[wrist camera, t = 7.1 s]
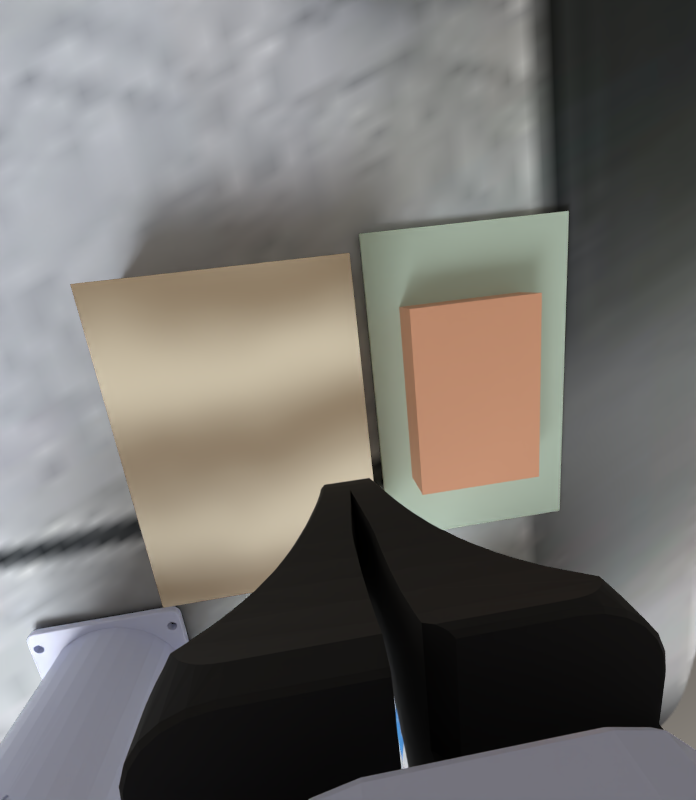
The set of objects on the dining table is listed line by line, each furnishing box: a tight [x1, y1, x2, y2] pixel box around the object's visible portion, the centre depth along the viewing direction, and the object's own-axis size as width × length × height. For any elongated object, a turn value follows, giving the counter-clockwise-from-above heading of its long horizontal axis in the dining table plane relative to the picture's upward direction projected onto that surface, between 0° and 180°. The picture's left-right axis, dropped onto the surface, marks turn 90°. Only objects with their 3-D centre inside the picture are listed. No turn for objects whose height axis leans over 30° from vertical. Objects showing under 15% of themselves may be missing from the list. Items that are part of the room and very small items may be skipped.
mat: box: [359, 211, 569, 530], centre depth 21 cm, size 16×10×1 cm, turn 6°
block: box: [399, 292, 542, 495], centre depth 20 cm, size 9×6×2 cm, turn 7°
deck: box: [70, 253, 374, 608], centre depth 19 cm, size 14×10×4 cm
